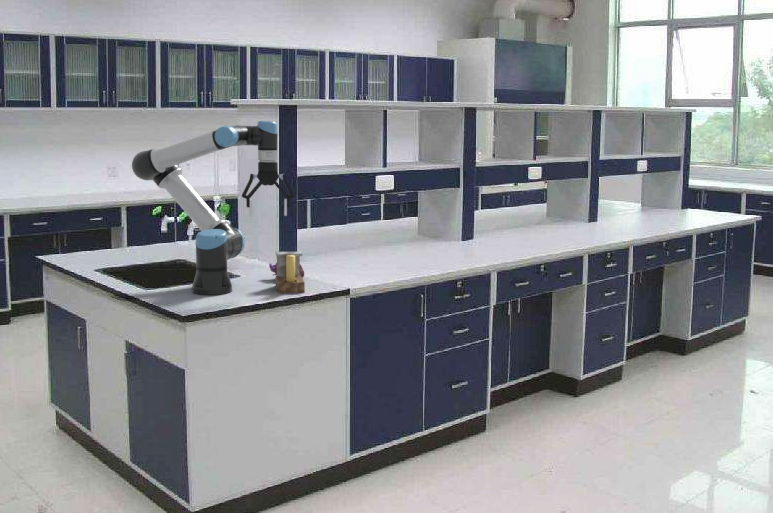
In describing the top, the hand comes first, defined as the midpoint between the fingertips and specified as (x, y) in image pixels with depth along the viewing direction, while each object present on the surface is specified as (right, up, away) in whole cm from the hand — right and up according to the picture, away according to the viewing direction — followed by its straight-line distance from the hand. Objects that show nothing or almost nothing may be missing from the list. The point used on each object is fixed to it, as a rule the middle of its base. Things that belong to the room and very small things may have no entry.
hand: (268, 215), depth 329 cm
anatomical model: (+5, -26, +22) cm, 35 cm away
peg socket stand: (+8, -29, +3) cm, 30 cm away
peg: (+9, -29, -1) cm, 31 cm away
